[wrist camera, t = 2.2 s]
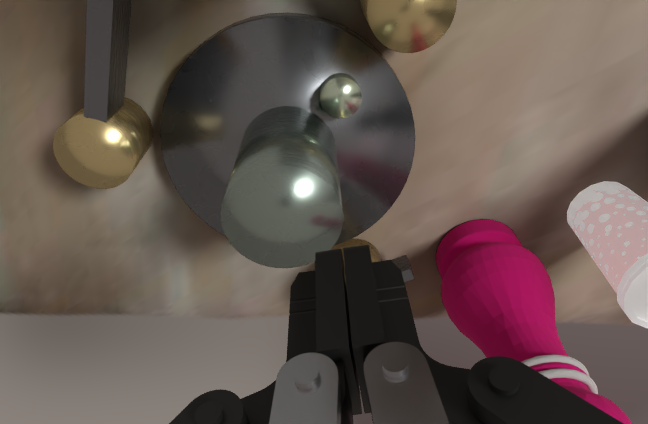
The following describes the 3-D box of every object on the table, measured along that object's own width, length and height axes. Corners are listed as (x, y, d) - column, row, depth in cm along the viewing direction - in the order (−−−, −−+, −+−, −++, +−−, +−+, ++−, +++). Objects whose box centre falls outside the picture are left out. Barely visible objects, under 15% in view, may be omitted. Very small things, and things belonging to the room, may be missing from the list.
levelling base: (195, -122, 24) (135, -141, 16) (526, -9, 27) (618, 24, 19) (151, 242, 35) (103, 338, 27) (385, 291, 38) (404, 391, 30)
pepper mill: (412, 272, 37) (494, 566, 21) (460, 199, 34) (607, 481, 17) (489, 297, 39) (625, 590, 22) (542, 230, 36) (752, 516, 19)
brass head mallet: (87, -95, 24) (49, -97, 21) (175, -67, 25) (153, -64, 21) (81, 149, 31) (52, 179, 28) (150, 166, 32) (130, 197, 28)
